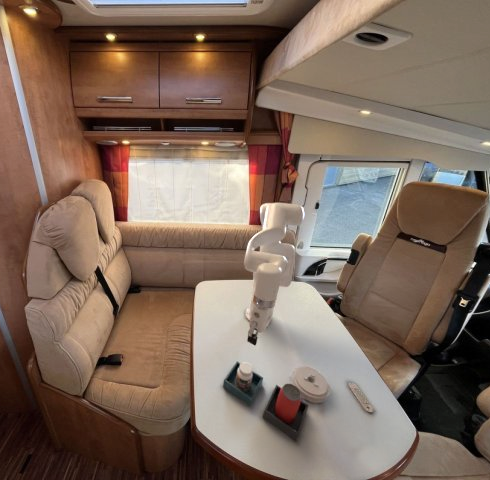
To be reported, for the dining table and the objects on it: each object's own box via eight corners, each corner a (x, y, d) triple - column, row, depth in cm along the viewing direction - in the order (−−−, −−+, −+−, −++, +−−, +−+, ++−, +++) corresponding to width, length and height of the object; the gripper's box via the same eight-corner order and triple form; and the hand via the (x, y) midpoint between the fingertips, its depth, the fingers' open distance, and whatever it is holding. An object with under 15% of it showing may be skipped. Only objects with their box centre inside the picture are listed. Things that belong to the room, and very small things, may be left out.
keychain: (375, 411, 81) (367, 411, 81) (374, 412, 82) (366, 412, 81) (354, 381, 91) (347, 382, 91) (354, 382, 91) (346, 383, 91)
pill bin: (236, 367, 96) (236, 361, 94) (261, 384, 90) (263, 377, 88) (223, 386, 89) (223, 380, 87) (250, 406, 83) (251, 399, 81)
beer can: (296, 426, 77) (304, 404, 72) (275, 421, 78) (282, 400, 73) (292, 405, 83) (300, 384, 78) (273, 401, 84) (279, 380, 79)
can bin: (274, 391, 88) (276, 384, 86) (305, 411, 82) (308, 404, 80) (262, 417, 80) (264, 410, 78) (296, 442, 74) (299, 435, 72)
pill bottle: (232, 385, 89) (234, 367, 85) (240, 374, 93) (243, 357, 89) (245, 395, 86) (248, 378, 81) (253, 384, 89) (256, 367, 85)
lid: (283, 377, 93) (286, 369, 91) (308, 367, 97) (311, 359, 95) (308, 409, 82) (311, 401, 80) (334, 397, 86) (338, 388, 84)
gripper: (264, 318, 70) (257, 356, 78) (284, 289, 82) (276, 325, 90) (242, 307, 74) (237, 344, 82) (264, 281, 86) (257, 315, 94)
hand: (257, 334), depth 86 cm, fingers open, 9 cm apart
